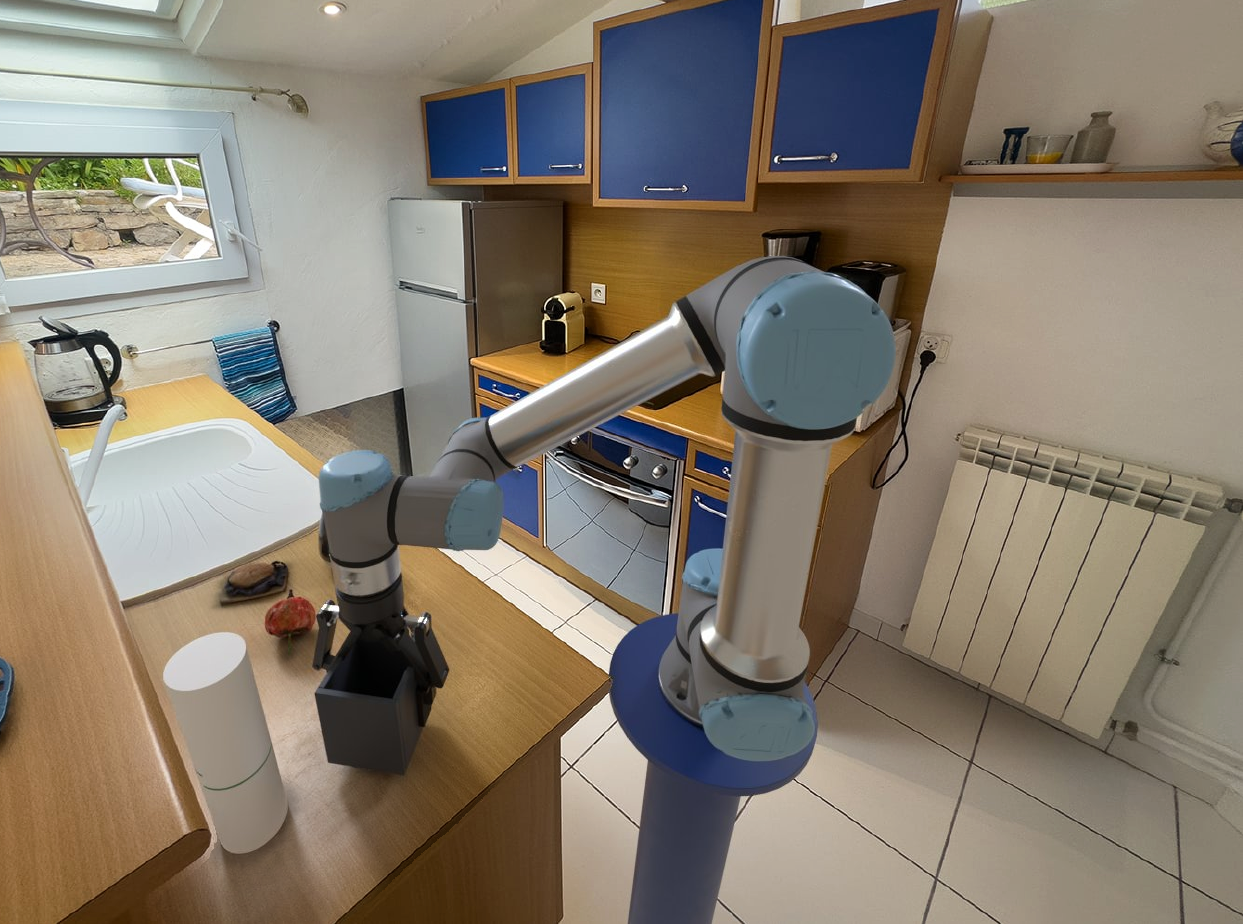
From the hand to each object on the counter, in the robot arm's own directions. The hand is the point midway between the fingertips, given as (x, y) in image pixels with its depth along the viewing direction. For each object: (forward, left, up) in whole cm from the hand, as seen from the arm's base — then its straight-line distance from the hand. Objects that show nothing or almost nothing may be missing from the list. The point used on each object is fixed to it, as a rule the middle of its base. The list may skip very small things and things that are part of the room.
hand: (386, 711), depth 73 cm
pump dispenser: (+22, -32, -4) cm, 39 cm away
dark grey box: (0, +7, +4) cm, 8 cm away
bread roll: (+36, -23, -4) cm, 43 cm away
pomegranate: (+22, -13, -4) cm, 26 cm away
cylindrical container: (+11, +13, -4) cm, 17 cm away
